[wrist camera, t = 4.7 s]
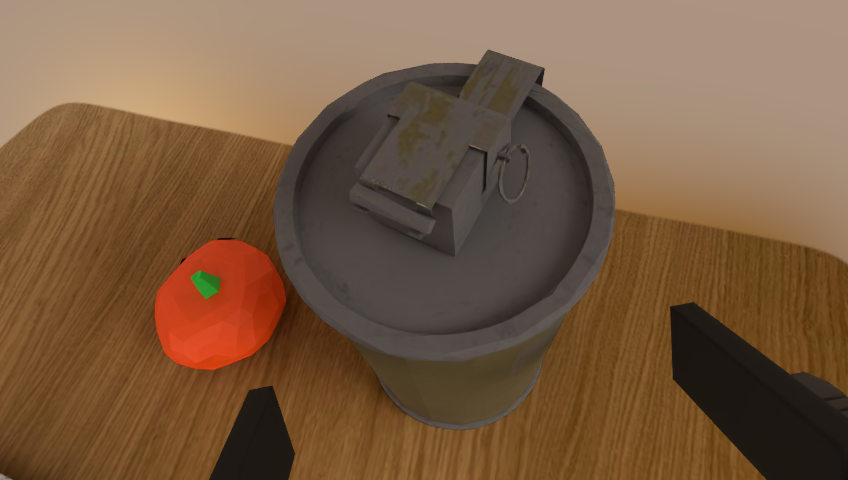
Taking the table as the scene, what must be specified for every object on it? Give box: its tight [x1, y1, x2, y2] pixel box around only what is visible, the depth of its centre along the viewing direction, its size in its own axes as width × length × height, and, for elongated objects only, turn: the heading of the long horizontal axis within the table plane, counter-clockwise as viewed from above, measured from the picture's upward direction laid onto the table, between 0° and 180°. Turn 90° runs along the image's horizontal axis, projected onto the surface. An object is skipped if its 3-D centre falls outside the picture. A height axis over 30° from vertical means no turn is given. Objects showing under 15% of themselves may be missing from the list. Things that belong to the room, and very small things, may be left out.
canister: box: [273, 50, 615, 430], centre depth 22 cm, size 11×10×20 cm
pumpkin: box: [155, 238, 286, 370], centre depth 30 cm, size 7×8×6 cm
